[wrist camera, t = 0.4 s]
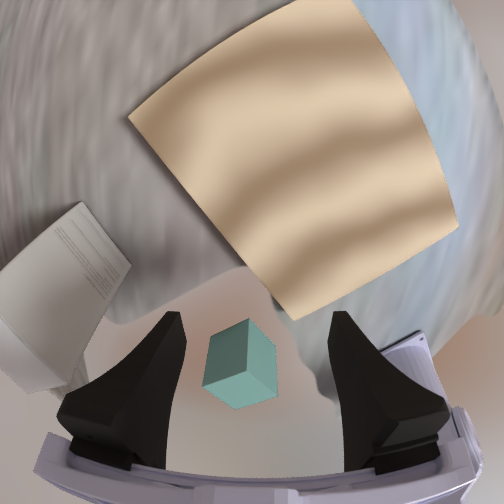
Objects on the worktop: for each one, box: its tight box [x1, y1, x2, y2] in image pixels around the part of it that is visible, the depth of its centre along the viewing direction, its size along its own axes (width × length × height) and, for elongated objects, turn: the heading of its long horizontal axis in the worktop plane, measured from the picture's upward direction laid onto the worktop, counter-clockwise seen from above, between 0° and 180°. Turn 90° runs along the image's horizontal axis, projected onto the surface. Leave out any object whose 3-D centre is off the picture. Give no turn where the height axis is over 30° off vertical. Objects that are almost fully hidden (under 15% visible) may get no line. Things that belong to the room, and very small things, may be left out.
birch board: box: [128, 0, 459, 321], centre depth 18 cm, size 20×16×2 cm
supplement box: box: [0, 201, 132, 394], centre depth 18 cm, size 7×7×13 cm
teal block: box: [202, 318, 278, 409], centre depth 25 cm, size 4×4×6 cm
